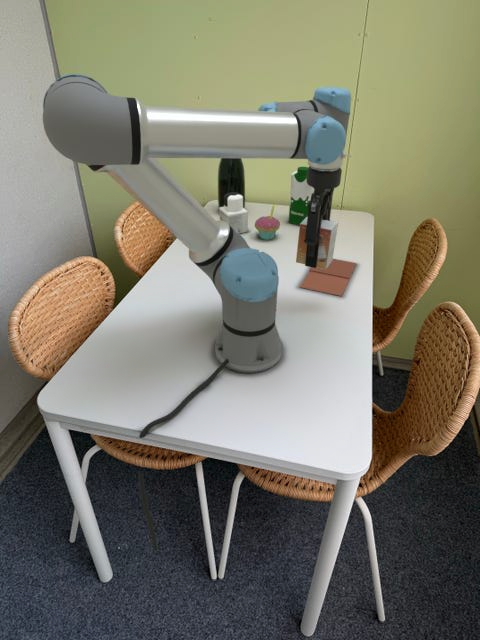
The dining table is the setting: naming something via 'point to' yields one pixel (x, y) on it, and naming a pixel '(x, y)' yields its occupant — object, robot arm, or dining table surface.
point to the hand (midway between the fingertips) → (314, 260)
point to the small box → (325, 243)
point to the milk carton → (299, 196)
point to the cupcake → (267, 226)
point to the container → (234, 212)
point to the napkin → (329, 278)
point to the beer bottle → (230, 178)
